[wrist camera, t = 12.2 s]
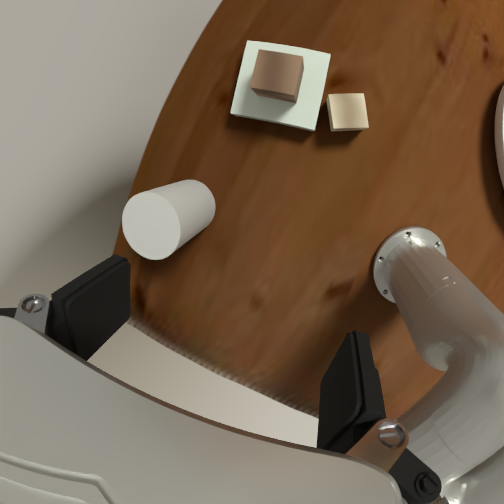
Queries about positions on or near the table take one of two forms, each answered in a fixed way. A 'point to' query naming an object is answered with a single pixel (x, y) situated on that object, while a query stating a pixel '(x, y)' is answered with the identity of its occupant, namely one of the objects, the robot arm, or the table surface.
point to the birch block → (347, 112)
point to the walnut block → (277, 75)
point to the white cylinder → (167, 217)
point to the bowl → (500, 134)
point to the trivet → (280, 110)
